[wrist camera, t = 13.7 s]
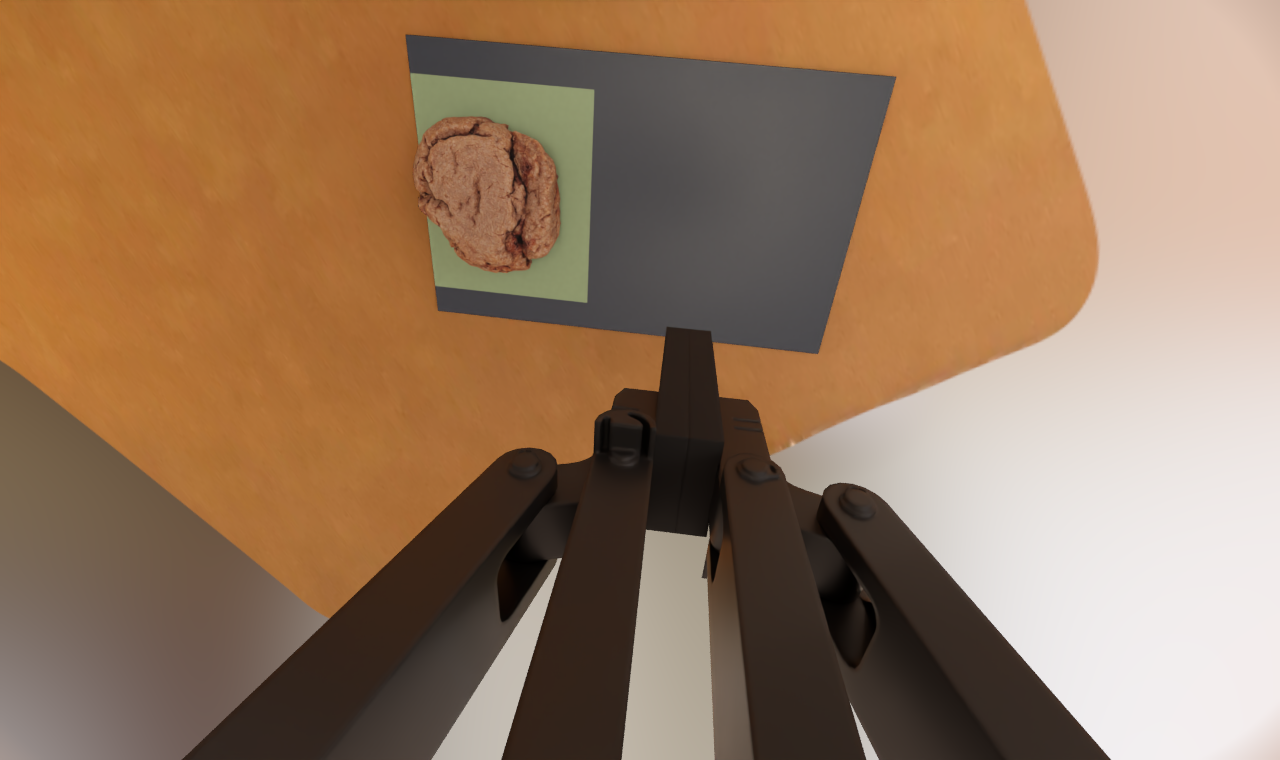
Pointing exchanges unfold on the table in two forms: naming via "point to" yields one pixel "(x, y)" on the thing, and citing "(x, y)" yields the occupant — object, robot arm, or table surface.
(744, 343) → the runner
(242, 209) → the table surface
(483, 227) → the cookie
